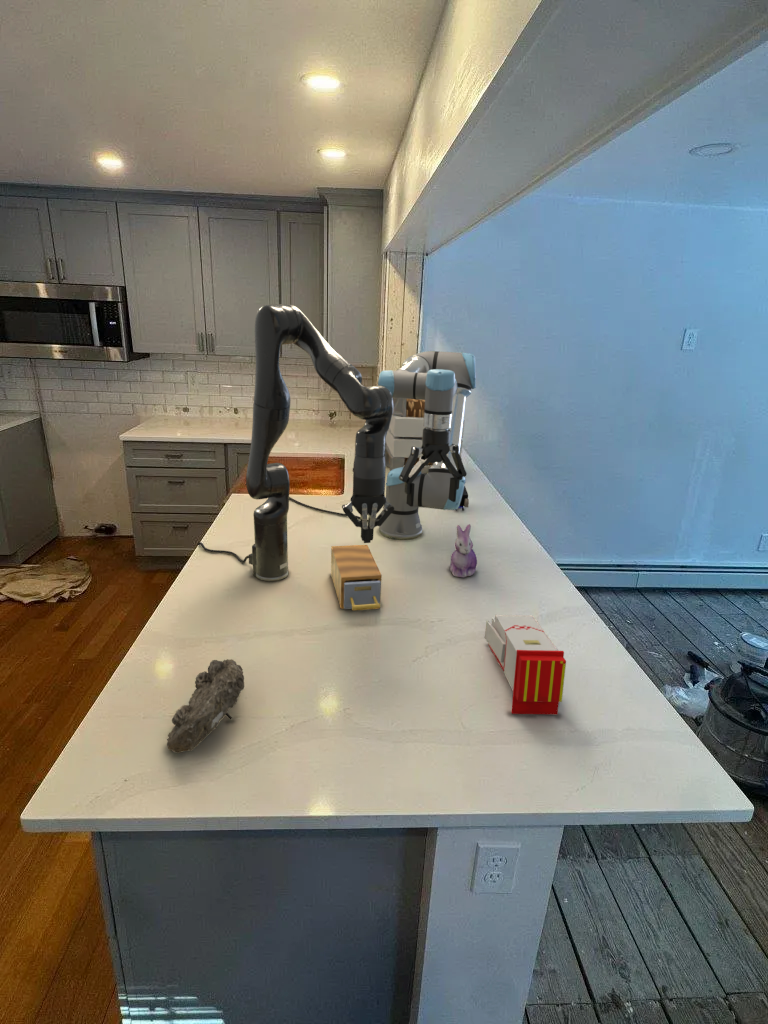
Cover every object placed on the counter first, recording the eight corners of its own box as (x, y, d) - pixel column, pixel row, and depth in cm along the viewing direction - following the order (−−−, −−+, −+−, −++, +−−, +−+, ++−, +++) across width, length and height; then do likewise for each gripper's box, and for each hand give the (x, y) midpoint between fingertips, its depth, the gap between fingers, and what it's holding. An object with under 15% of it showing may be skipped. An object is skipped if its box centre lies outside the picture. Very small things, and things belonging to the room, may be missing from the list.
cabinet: (380, 606, 151) (381, 575, 148) (340, 608, 149) (341, 577, 146) (366, 572, 170) (367, 544, 167) (331, 574, 167) (331, 546, 164)
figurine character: (468, 516, 224) (463, 500, 237) (471, 498, 221) (465, 483, 234) (452, 515, 224) (447, 499, 237) (453, 498, 220) (449, 482, 234)
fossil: (192, 660, 117) (244, 628, 112) (224, 691, 120) (276, 661, 115) (142, 746, 98) (202, 712, 93) (182, 779, 101) (242, 748, 96)
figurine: (459, 581, 167) (464, 533, 161) (440, 567, 175) (444, 521, 170) (485, 575, 171) (490, 529, 166) (465, 562, 179) (470, 517, 174)
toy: (530, 600, 137) (574, 657, 108) (525, 651, 140) (567, 720, 111) (480, 599, 137) (511, 656, 107) (477, 651, 139) (506, 719, 110)
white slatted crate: (382, 463, 289) (386, 382, 275) (445, 464, 293) (451, 384, 279) (390, 482, 257) (394, 392, 243) (460, 483, 261) (468, 394, 247)
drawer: (384, 617, 144) (385, 592, 141) (347, 620, 142) (348, 595, 139) (366, 574, 166) (367, 552, 164) (334, 576, 164) (334, 554, 162)
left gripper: (343, 478, 127) (342, 549, 133) (400, 477, 130) (396, 546, 136) (338, 469, 134) (337, 537, 140) (393, 468, 137) (389, 534, 143)
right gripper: (401, 433, 145) (397, 511, 152) (483, 429, 155) (475, 502, 162) (389, 427, 152) (385, 502, 159) (468, 424, 162) (462, 494, 169)
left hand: (366, 541), depth 138 cm, fingers closed
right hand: (431, 502), depth 161 cm, fingers open, 13 cm apart
